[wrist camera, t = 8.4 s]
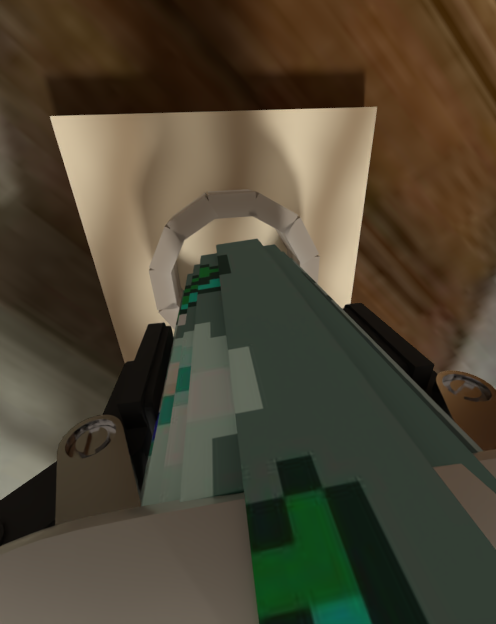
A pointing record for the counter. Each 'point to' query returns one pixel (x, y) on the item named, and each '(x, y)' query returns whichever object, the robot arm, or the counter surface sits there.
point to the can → (316, 452)
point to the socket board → (213, 198)
